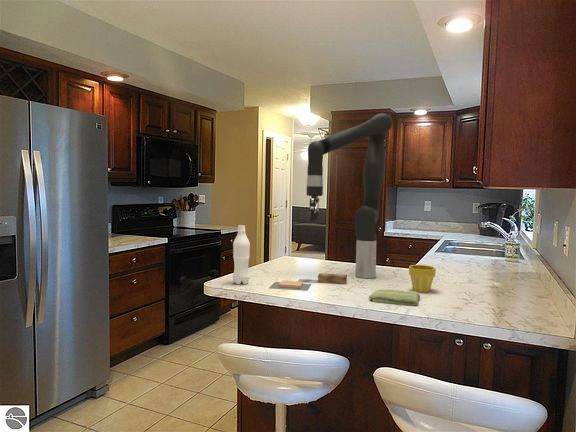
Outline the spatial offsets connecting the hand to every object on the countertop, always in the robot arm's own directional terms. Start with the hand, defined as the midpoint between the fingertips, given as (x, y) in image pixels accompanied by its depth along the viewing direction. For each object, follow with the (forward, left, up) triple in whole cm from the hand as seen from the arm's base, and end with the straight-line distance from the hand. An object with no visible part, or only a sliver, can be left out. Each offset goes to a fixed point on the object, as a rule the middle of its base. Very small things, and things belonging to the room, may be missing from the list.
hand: (314, 220), depth 195 cm
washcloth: (-36, +33, -27) cm, 55 cm away
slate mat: (+6, +24, -26) cm, 36 cm away
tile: (+1, +24, -25) cm, 35 cm away
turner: (-6, +13, -26) cm, 30 cm away
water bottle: (+28, +22, -26) cm, 44 cm away
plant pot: (-47, +15, -26) cm, 56 cm away
